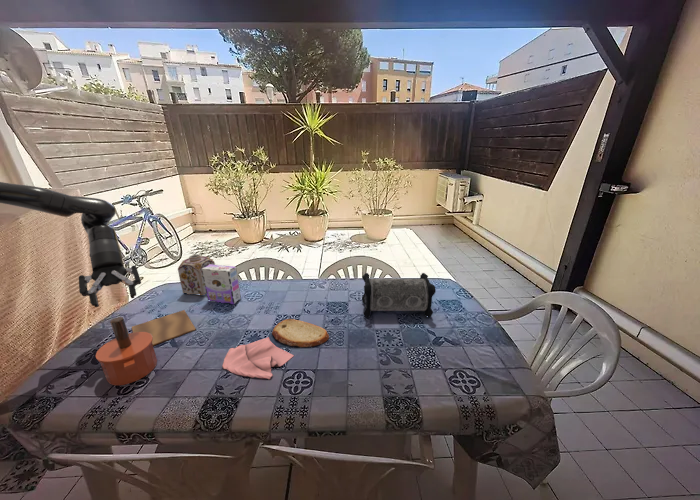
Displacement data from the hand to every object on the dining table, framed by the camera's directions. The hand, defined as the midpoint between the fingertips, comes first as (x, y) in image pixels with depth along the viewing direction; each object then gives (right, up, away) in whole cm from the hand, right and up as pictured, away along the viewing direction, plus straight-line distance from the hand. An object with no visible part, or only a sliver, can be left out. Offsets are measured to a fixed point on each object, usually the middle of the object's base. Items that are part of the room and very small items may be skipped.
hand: (114, 301), depth 82 cm
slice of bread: (+53, -16, +19) cm, 58 cm away
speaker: (+91, -10, +35) cm, 98 cm away
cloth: (+42, -20, +6) cm, 47 cm away
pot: (+4, -22, +2) cm, 22 cm away
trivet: (0, -15, +21) cm, 26 cm away
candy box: (+14, -7, +42) cm, 45 cm away
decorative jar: (-2, -4, +52) cm, 52 cm away
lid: (+4, -14, -1) cm, 14 cm away
